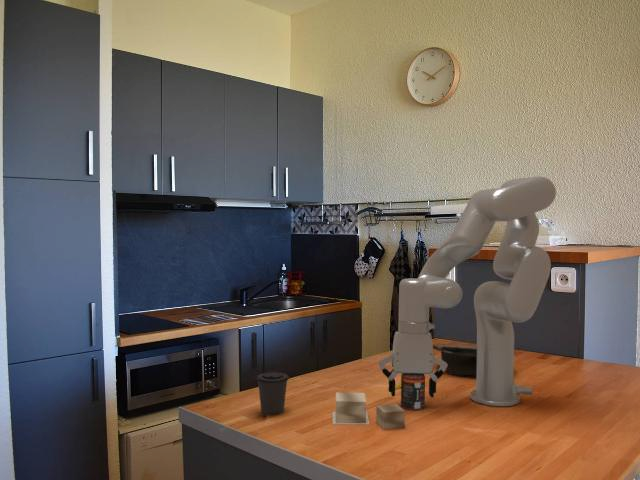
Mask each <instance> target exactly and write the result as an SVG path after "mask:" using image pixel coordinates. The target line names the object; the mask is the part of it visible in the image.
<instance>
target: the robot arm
mask: <svg viewBox="0 0 640 480" xmlns="http://www.w3.org/2000/svg"><path fill="white" fill-rule="evenodd" d="M556 195H557V192H556V186H555V184H554V182H553V181H551V179H549V178H547V177H545V176H530V177H529V176H528V177H521V178H513V179H510V180H506V181H505V182H504V183H503V182H502V184H501V186H500V187H498V188H486V189H480V190H478V191H476V192H474V193H473V195H472V196H471V197H470V198H469V200H468V202H467V204H466V206H465V208H464V210H463V212H462V213H461V216H460V217H459V219H458V220H457V223H456V225H455V227H454V229H453V231H452V233H451V234H450V235H449V238H447V239H446V240H445V241H444V242H443V243H442V244H441V245H440V246H439V247H438V248H437V249H436V250H435V251H434V252H433V253H432V254H431V255H430V257H429V258H428V259H427V260H426V261H425V264H424V265H423V267H422V269H421V271H420V273H419V275H418V276H417V278H412V277H410V278H403V279H401V280H400V282H399V284H398V285H399V290H398V329H397V330H398V331H395V332H394V336H393V344H392V353H391V355H390V354H389V355H388V356H387V357H384V358H382V359H380V360H378V362H377V363H378V364H377V365H378V366H379V368H380V370H381V373H382V374H383V375H384V376H385V377H386V378H387V380H388V379H389V383H388V392H389V393H390V395H391V397H395V396H396V389H395V386H396V379H395V378H396V377H397V376H398V375H399V374H401V373H405V374H411V373H418V374H424V375H426V374H427V375H428V376H429V377H430V378H429V379H428V394H429V396H430V398H434V396H435V395H434V394H437V382H438V381H439V379H440V378H441V377H442V376H443V375H444V373H445V371H446V370H447V368H448V367H447V366H448V364H447V363H446V362H444V361H442V358H441V359H440V358H439V357H437V356H435V355H434V348H433V346H434V343H433V338H432V333H431V332H430V330H435V329H436V328H435V323H431V322H430V321H429V320H430V308H440V309H451V308H455V307H456V306H458V304H459V303H461V301H462V299H463V289H462V287H461V286H460V284H459V283H458V282H456V280H453V279H451V278H447V277H448V275H449V274H450V273H451V271H452V270H453V269H454V268H455V267H457V266H458V265H460V264H461V263H462V262H464V261H467V260H469V259H472V258H473V257H475V256H476V255H478V254H479V253H480V252H481V251H482V249H483V247H484V245H485V243H486V241H487V239H488V237H489V236H490V234H491V232H492V229H493V228H494V226H495V223H496V222H506V227H505V229H504V233H503V237H502V238H501V241H500V243H499V246H498V248H497V251H496V253H495V256H494V259H493V263H492V270H493V272H494V273H495V274H496V275H497V276H498V277H500V278H502V279H504V280H509V281H510V280H511V282H510V283H508V282H504V281H495V280H492V281H486V282H483V283H481V284H480V285H479V286H478V287H477V288H476V290H475V293H474V295H473V296H474V297H473V307H474V312H475V317H476V318H475V319H476V320H475V321H476V347H477V369H476V375H475V377H476V378H475V379H476V380H475V383H476V385H475V389H473V390H472V391H470V393H469V396H470V399H471V400H473V401H474V402H475V403H478V404H481V405H486V406H493V407H510V406H511V407H512V406H516V405H518V404H519V403H520V395H533V388H532V386H525V385H519V384H518V385H517V384H516V383H515V382H514V377H515V376H514V372H515V370H514V369H515V364H514V363H515V331H514V326H513V323H517V324H520V323H521V324H522V323H525V322H527V321H529V320H530V319H531V318H532V317H533V316H534V314H535V312H536V310H537V309H538V306H539V304H540V300H541V298H542V295H543V293H544V291H545V288H546V285H547V282H548V280H549V278H550V275H551V269H552V263H551V259H550V255H549V253H547V251H546V250H545V249H543V248H542V247H539V246H538V245H537V246H536V244H537V240H538V237H539V234H540V224H539V221H538V220H539V219H538V217H537V215H536V213H538V212H541V211H543V210H545V209H548V208H549V207H550V206H551V205H552V204H553V203H554V200H555V199H556ZM389 363H391V366H392V367H393V369H392V367H391V370H390V371H389V370H388V369H387V367H386V365H387V364H389ZM434 364H437V365H439V368H438V369H437V370H436V371H435V372H434Z"/></svg>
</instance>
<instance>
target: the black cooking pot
mask: <svg viewBox="0 0 640 480" xmlns="http://www.w3.org/2000/svg"><path fill="white" fill-rule="evenodd" d="M433 350H435V351H440V354H441V355H440V357H441V360H442V361H444V362H446V363H447V364H448V366H447V368H448V373H449V374H450V375H453V376H458V377H459V376H460V377H461V376H476V369H477V346H474V345H469V346H468V345H467V346H465V345H446V344H444V345H443V344H441V345H435V344H433Z"/></svg>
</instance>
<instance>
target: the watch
mask: <svg viewBox="0 0 640 480" xmlns="http://www.w3.org/2000/svg"><path fill="white" fill-rule="evenodd" d="M392 369H393V367H391V370H392ZM402 374H403V373H400V375H401V376H402ZM401 376H400V377H401ZM387 382H388V383H387V384H389V379H388V378H387ZM397 389H401V380H400V382H399V384H397V385H395V390H397Z"/></svg>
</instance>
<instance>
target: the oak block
mask: <svg viewBox="0 0 640 480" xmlns="http://www.w3.org/2000/svg"><path fill="white" fill-rule="evenodd" d="M375 412H376V424H377V425H378V426H379V427H380V428H381V429H382V430H383V431H387V430H388V431H389V430H399V429H400V430H402V429H405V428H406V427H405V425H406V424H405V423H406V421H405V420H406V419H405V418H406V411H405V409H403V408H402V407H401V405H398V404H397V403H390V404H379V405H376V411H375Z"/></svg>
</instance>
